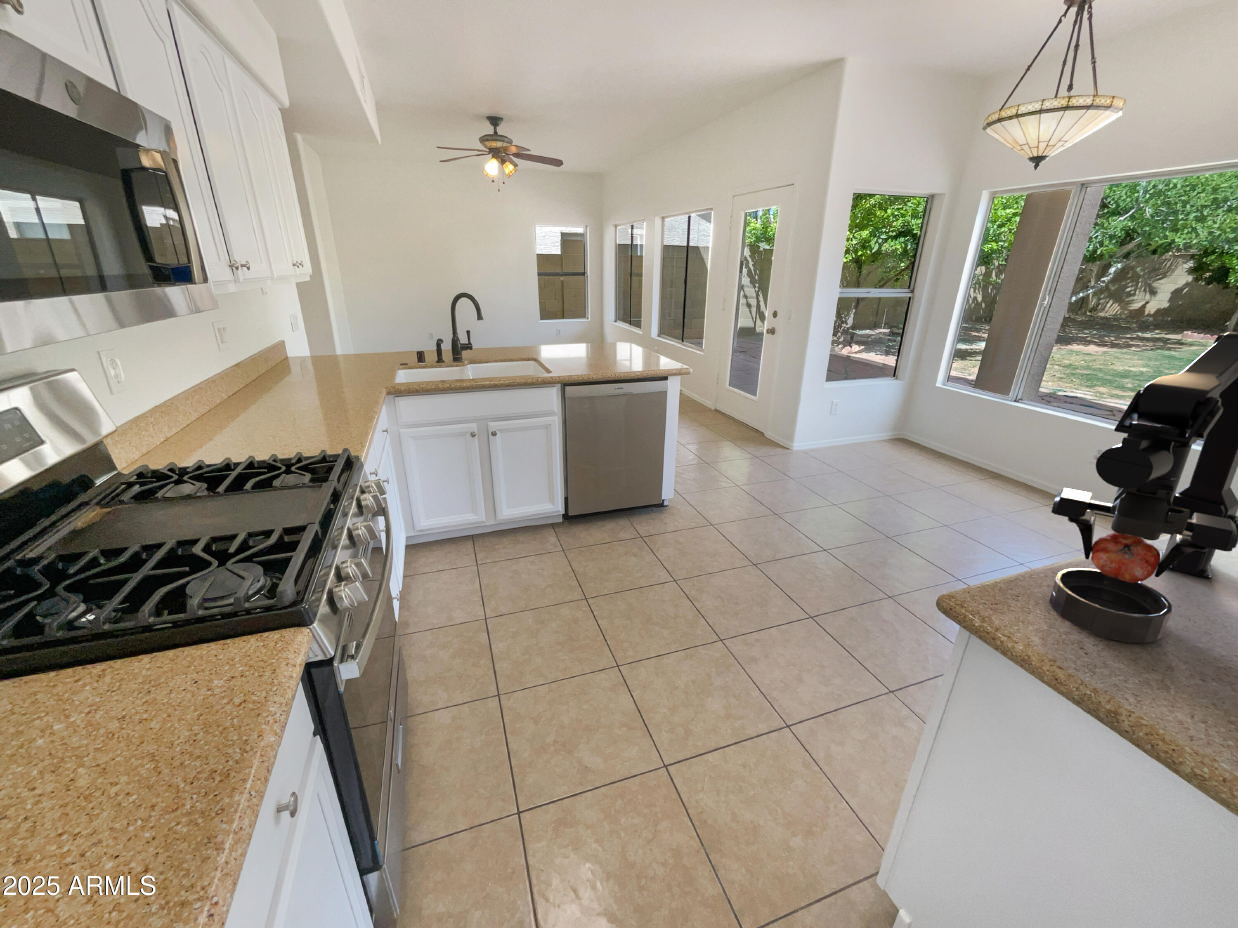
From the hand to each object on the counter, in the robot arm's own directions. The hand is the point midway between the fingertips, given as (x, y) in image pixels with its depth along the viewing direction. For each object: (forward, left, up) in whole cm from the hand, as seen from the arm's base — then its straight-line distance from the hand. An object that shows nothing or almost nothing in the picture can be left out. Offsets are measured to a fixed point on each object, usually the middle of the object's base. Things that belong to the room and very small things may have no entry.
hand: (1120, 566), depth 78 cm
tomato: (0, 0, -2) cm, 2 cm away
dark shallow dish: (0, 0, -9) cm, 9 cm away
